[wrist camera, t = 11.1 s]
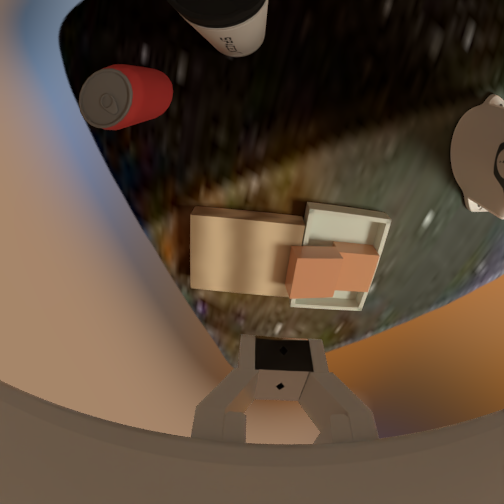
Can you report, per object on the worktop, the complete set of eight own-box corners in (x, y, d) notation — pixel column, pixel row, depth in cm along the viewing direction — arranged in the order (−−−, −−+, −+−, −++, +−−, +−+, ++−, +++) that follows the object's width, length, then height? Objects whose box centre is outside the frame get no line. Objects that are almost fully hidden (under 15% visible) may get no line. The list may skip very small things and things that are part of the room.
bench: (302, 216, 40) (305, 225, 37) (289, 284, 45) (290, 297, 42) (194, 205, 39) (190, 214, 37) (194, 275, 45) (190, 288, 42)
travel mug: (230, 0, 26) (201, -80, 9) (276, 29, 28) (294, -35, 11) (197, 38, 29) (132, -11, 11) (242, 67, 31) (222, 37, 13)
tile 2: (372, 245, 41) (379, 255, 38) (362, 280, 44) (367, 292, 41) (333, 241, 41) (338, 252, 38) (324, 277, 44) (328, 289, 41)
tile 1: (335, 246, 39) (343, 258, 37) (325, 284, 42) (332, 297, 40) (291, 245, 38) (297, 258, 36) (284, 284, 41) (289, 298, 39)
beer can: (145, 130, 34) (100, 148, 24) (115, 93, 32) (62, 99, 21) (185, 96, 32) (152, 99, 22) (153, 58, 30) (109, 48, 19)
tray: (384, 212, 39) (391, 219, 37) (357, 300, 46) (361, 310, 44) (306, 201, 39) (309, 208, 36) (288, 296, 46) (290, 306, 44)
